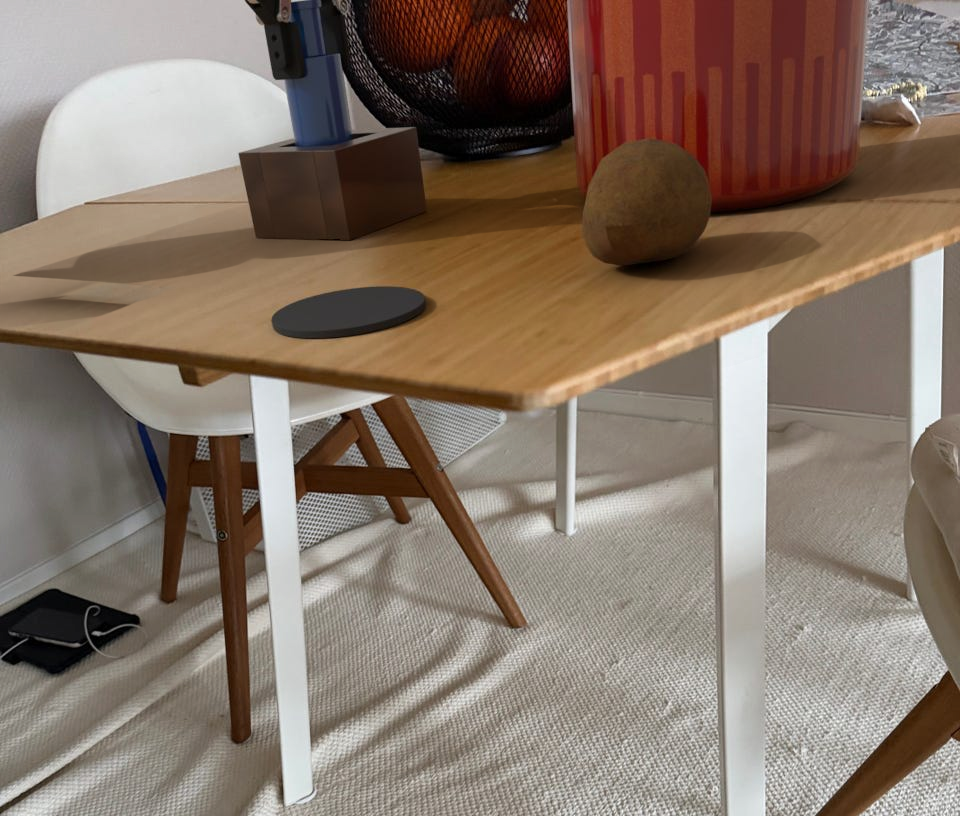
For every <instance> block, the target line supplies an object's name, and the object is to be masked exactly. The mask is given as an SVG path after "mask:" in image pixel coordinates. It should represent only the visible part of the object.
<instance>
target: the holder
mask: <svg viewBox="0 0 960 816" xmlns="http://www.w3.org/2000/svg"><path fill="white" fill-rule="evenodd" d="M351 130H352V136H353V140H350V141H347V142H343V143H339V144H336V145H332V146H302V147H295V142H294V137H293V138H290V139H289V138H288V139H285V140H281V141H278V142H274V143H271V144H266V145H262V146H259V147H256V148H255V147H254V148H251V149H248V150H243V151H240V152H238V153H237V154H238V160H239V164H240V169H241V172H242V173H241V174H242V178H243V182H244V187H245V192H246V196H247V202H248V206H249V211H250V216H251V220H252V226H253V230H254V235H255V238H258V239H286V240H288V239H289V240H318V239H340V240H339V241H353V240H354V239H357V238H360V237H363V236H365V235H368V234H370V233H373V232H376V231H379V230H381V229H384V228H387V227H389V226H392V225H394V224H397V223H401V222H403V221H405V220H407V219H410V218H413V217H416V216H419V215H421V214H424V213H426V212H427V211H428V209H427V202H426V200H427V199H426V195H425V185H424V179H423V170H422V162H421V154H420V147H419V140H418V132H417V131H418V130H417V127H416V126H409V127H408V126H407V127H387V128H386V127H385V128H384V127H383V128H381V127H380V128H360V129H359V128H358V129H351Z"/></svg>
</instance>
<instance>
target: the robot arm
mask: <svg viewBox="0 0 960 816" xmlns="http://www.w3.org/2000/svg"><path fill="white" fill-rule="evenodd" d="M244 1H245V3H246V4H247V5H248V6H249V8H250V9H251V10H252V11H253V12H254V14H255V19H256V22H257V23H258V25H260V26H263V28H264V34H265V40H266V46H267V51H268V58H269V64H270V68H271V75H272V78H273V79H274V80H275V81H284V80H287V79H300V78H304V77H305V74H306V70H305V64H304V58H303V51H302V45H301V39H300V33H299V27H298V24H297V22H290V19H291V2H292V0H244ZM321 1H322V7H320V11H321V17H322V24H323V30H324V37H325V43H326V50H327V53H340V54H341V61H342V68H343V71H345V70H350V69H351V68H352V59H351V58H352V57H351V51H350V45H349V37H348V31H347V25H346V24H347V23H346V18H345V17H346V15H347V14H348V13H349V8H350V7H349V2H348V0H321Z"/></svg>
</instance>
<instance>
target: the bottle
mask: <svg viewBox="0 0 960 816" xmlns="http://www.w3.org/2000/svg"><path fill="white" fill-rule="evenodd" d="M320 7H322V1H321V0H296V1H295V0H294V1H291V19H290V22H297V24H298V27H299V33H300V39H301V45H302V51H303V58H304V64H305V70H306V74H305V77H304V78H300V79H287V80H283V82H284V89H285V94H286V95H285V96H286V100H287V106H288V112H289V117H290V123H291V128H292V135H293V138H294V142H295V147H302V146H332V145H336V144H339V143H343V142H347V141H350V140H353V136H352V130H353V129H352V123H351V117H350V111H349V104H348V103H349V101H348V97H347V88H346V82H345V76H344V70H343V68H342V61H341V54H340V53H327V50H326V43H325V37H324V30H323V24H322V17H321V11H320Z"/></svg>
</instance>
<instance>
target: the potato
mask: <svg viewBox="0 0 960 816" xmlns="http://www.w3.org/2000/svg"><path fill="white" fill-rule="evenodd" d="M711 202H712V197H711V192H710V187H709V182H708V178H707V176H706V172H705V170H704V169H703V167H702V166H701V165H700V163H699V162H698V161H697V159H696V158H695V157H694V155H692V154H690V153H688V152H687V151H685V150H684V149H683V148H681V147H680V146H678V145H677V144H674V143H670V142H665V141H661V140H657V139H652V138H649V139H643V140H637V141H631V142H625V143H624V144H622V145H621V146H619V147H618V148H616V149H615V150H614V151H612V152H611V153H609V154H608V155H607V156H605V157H604V158H602V160H601V162H600V164H599V166H598V168H597V170H596V172H595V174H594V176H593V178H592V180H591V182H590V184H589V186H588V191H587V196H586V197H585V201H584V205H583V206H584V207H583V210H582V234H583V239H584V242H585V246H586V247H587V249H588V250H589V252H590V254H591V255H592V257H593V258H595V259H597V260H599V261H600V262H602V263H604V264H607V265H609V264H610V265H614V266H623V265H624V266H627V265H636V264H637V265H638V264H645V263H652V262H653V263H654V262H662V261H667V260H673V259H676V258H678V257H680V256H682V255H683V254H684V253H686V252H687V251H688V250H690V249H691V248H693V247H694V246H695V245H696V243H697V242H698V241H699V239H700V238H701V237H702V235H703V233H704V232H705V230H706V228H707V226H708V222H709V221H710V217H711V213H710V211H711Z"/></svg>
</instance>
